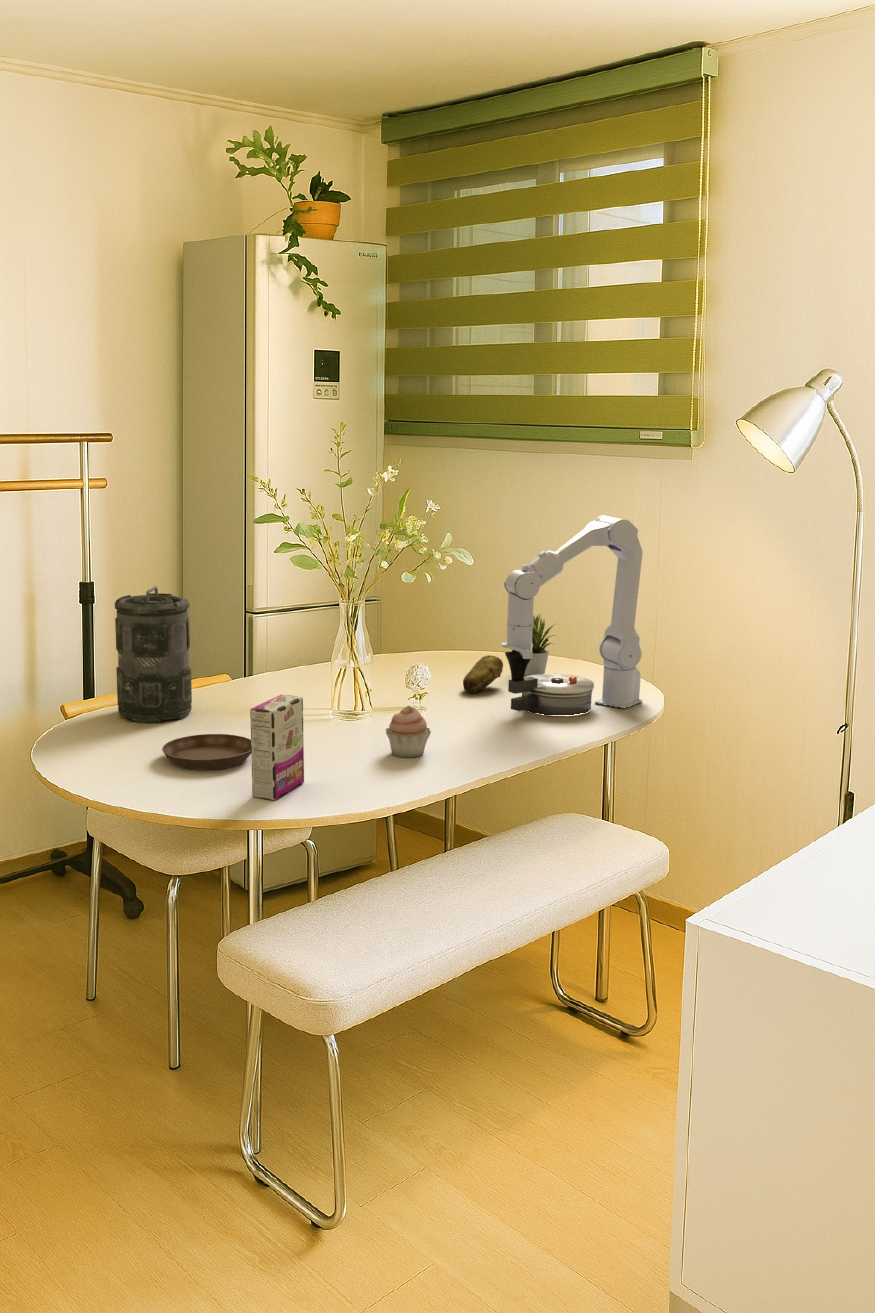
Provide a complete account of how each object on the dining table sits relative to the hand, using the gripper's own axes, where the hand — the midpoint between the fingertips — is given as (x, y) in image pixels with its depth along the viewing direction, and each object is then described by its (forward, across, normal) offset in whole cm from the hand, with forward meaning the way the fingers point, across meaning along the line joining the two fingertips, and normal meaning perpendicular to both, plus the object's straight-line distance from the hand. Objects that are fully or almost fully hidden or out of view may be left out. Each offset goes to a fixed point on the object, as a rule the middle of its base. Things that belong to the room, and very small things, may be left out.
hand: (517, 683), depth 271 cm
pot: (+7, -1, +8) cm, 10 cm away
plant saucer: (+7, +27, -70) cm, 75 cm away
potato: (+7, -21, -3) cm, 22 cm away
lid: (+1, -1, +8) cm, 8 cm away
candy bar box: (+7, +48, -58) cm, 75 cm away
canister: (+7, -8, -80) cm, 81 cm away
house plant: (+7, -36, +14) cm, 40 cm away
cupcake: (+7, +29, -31) cm, 43 cm away
